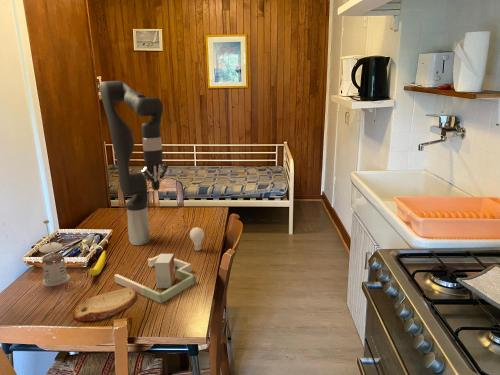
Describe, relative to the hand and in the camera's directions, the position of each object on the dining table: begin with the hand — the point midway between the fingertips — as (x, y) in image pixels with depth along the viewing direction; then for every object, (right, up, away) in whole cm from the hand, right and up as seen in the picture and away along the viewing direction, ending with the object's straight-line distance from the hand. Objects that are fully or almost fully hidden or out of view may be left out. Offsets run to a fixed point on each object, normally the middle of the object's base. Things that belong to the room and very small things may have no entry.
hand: (156, 189), depth 159 cm
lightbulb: (+15, -28, +15) cm, 35 cm away
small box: (+7, -36, -13) cm, 39 cm away
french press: (-37, -35, -8) cm, 52 cm away
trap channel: (+4, -35, -10) cm, 36 cm away
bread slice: (-10, -40, -27) cm, 50 cm away
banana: (-23, -34, -3) cm, 41 cm away
